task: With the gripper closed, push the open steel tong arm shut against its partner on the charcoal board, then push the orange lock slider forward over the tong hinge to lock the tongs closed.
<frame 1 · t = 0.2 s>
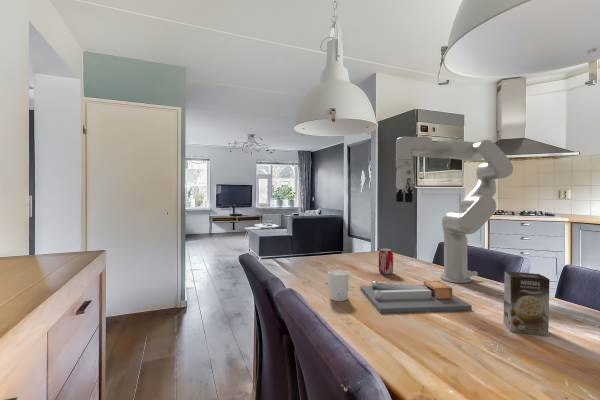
hand: (404, 202, 133), 36 cm above the table, tool pointing down, fingers open, 9 cm apart
soda can: (385, 273, 148), on the table
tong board: (410, 298, 110), on the table
white cup: (338, 298, 112), on the table
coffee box: (525, 330, 85), on the table
tong arm: (398, 286, 115), point 3 cm above the table, hinge at -25.0°
lock slider: (437, 289, 110), point 4 cm above the table, slide at 0.0 cm
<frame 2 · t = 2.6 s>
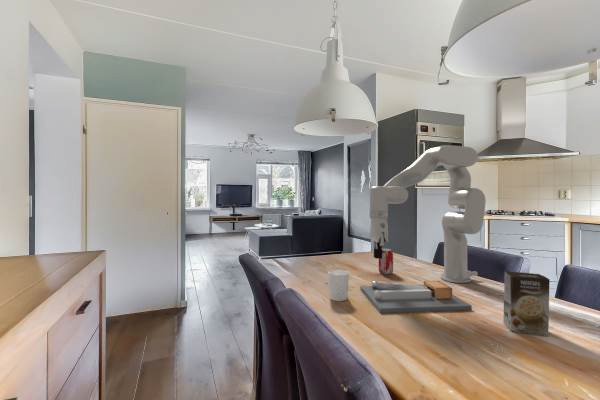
hand: (377, 257, 125), 13 cm above the table, tool pointing down, fingers closed
nothing on the table moved.
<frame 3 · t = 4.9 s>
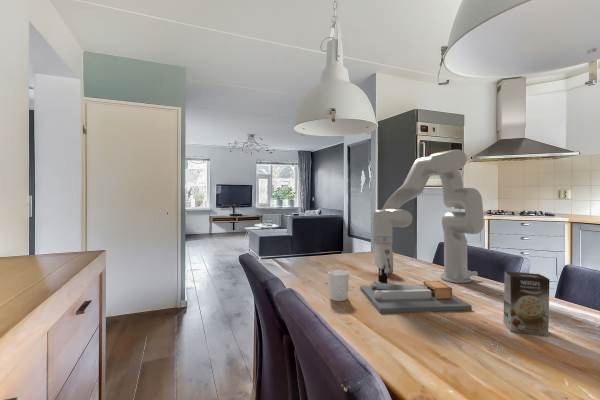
hand: (382, 284, 120), 3 cm above the table, tool pointing down, fingers closed
tong arm: (398, 287, 115), point 3 cm above the table, hinge at -23.3°, touching gripper
everything else where it was.
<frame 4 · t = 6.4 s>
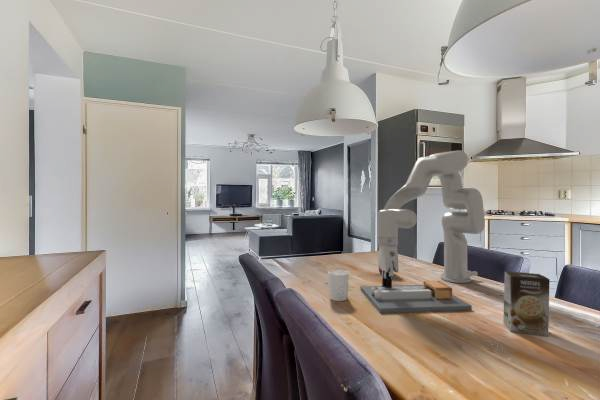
hand: (386, 288, 113), 3 cm above the table, tool pointing down, fingers closed
tong arm: (398, 290, 111), point 3 cm above the table, hinge at 0.3°, touching gripper
everything else where it was.
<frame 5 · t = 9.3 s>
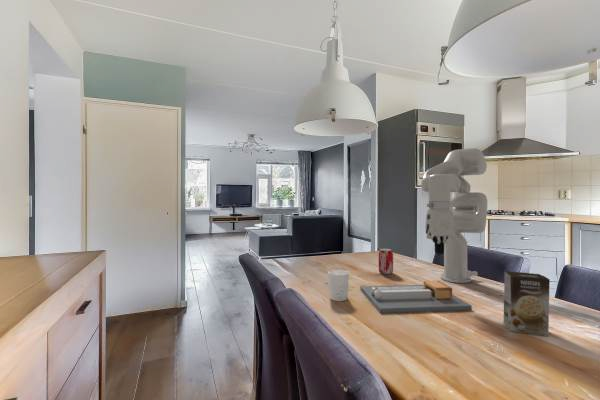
hand: (439, 253, 113), 17 cm above the table, tool pointing down, fingers closed
tong arm: (398, 290, 111), point 3 cm above the table, hinge at 0.4°
everything else where it was.
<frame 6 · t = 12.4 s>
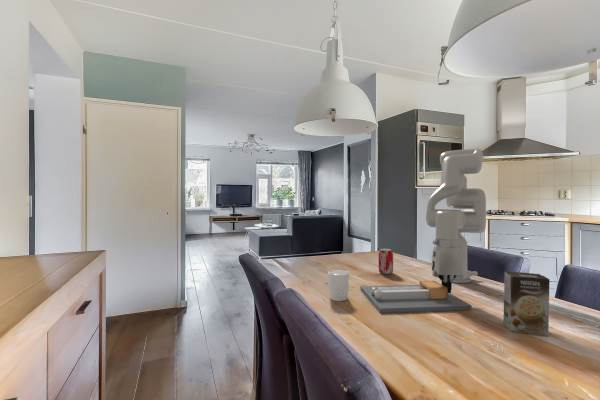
hand: (446, 291, 110), 3 cm above the table, tool pointing down, fingers closed
lock slider: (433, 289, 110), point 4 cm above the table, slide at 1.7 cm, touching gripper
everything else where it was.
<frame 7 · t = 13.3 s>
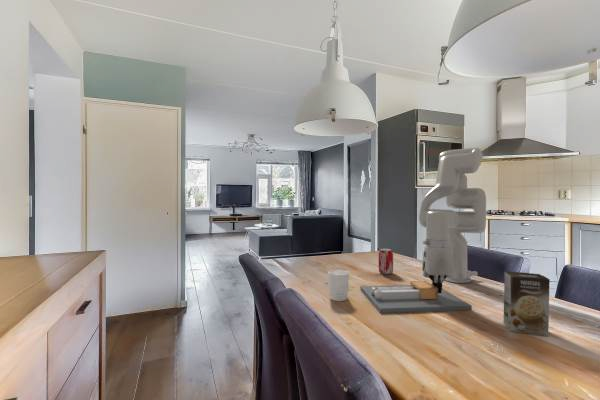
hand: (437, 292, 110), 3 cm above the table, tool pointing down, fingers closed
lock slider: (423, 289, 110), point 4 cm above the table, slide at 5.4 cm, touching gripper
everything else where it was.
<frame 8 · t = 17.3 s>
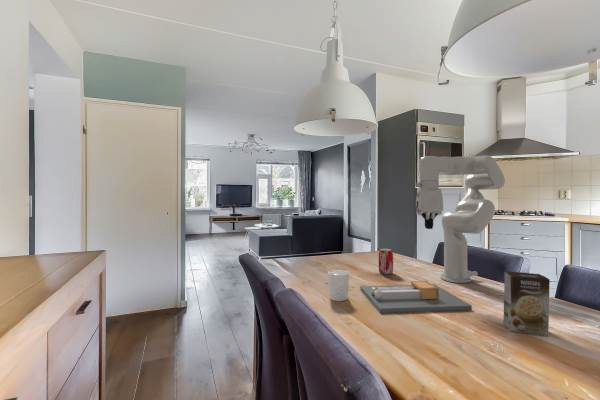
hand: (428, 228, 124), 25 cm above the table, tool pointing down, fingers closed
lock slider: (424, 289, 110), point 4 cm above the table, slide at 5.1 cm
everything else where it was.
at the end: tong arm at +0° (first picture: -25°); lock slider slide at 5.1 cm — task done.
